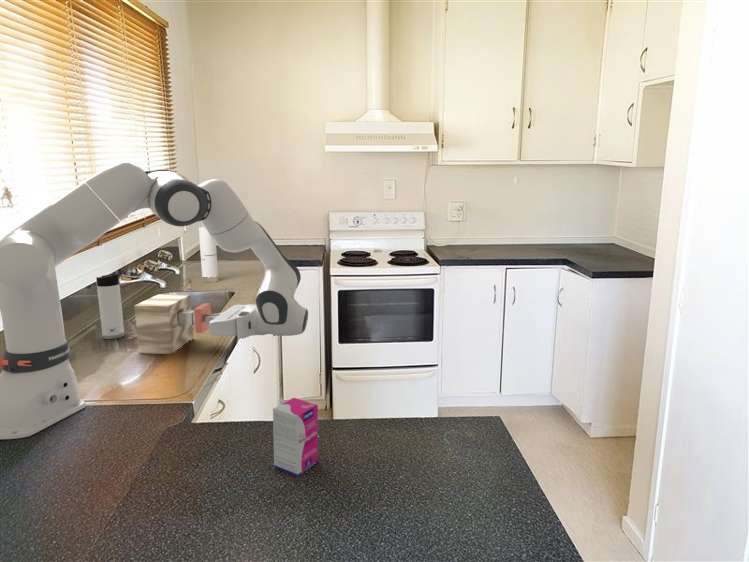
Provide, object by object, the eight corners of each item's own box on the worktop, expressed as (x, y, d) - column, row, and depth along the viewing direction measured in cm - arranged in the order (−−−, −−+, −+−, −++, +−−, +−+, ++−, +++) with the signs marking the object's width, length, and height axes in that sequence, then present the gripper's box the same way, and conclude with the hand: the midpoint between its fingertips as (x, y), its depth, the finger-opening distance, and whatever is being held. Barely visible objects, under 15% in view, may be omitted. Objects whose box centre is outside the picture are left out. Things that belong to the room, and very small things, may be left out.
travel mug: (117, 340, 169) (110, 276, 165) (98, 338, 170) (91, 275, 166) (129, 333, 175) (123, 272, 171) (111, 332, 176) (104, 271, 172)
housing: (172, 354, 156) (168, 306, 153) (138, 352, 157) (134, 305, 154) (193, 338, 170) (190, 294, 167) (162, 337, 171) (158, 294, 168)
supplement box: (299, 478, 94) (297, 416, 92) (273, 468, 97) (270, 408, 95) (319, 462, 99) (318, 403, 97) (294, 453, 102) (292, 396, 100)
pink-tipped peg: (202, 332, 158) (200, 309, 156) (156, 331, 159) (154, 307, 158) (212, 325, 165) (210, 303, 163) (167, 324, 166) (165, 302, 165)
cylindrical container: (215, 283, 250) (212, 228, 245) (200, 283, 250) (196, 228, 245) (220, 279, 257) (217, 226, 252) (205, 279, 257) (201, 226, 252)
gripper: (263, 300, 168) (219, 299, 170) (239, 318, 148) (190, 316, 150) (264, 320, 170) (220, 318, 171) (241, 340, 150) (192, 338, 151)
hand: (206, 318), depth 160 cm, fingers closed, pressing on pink-tipped peg
